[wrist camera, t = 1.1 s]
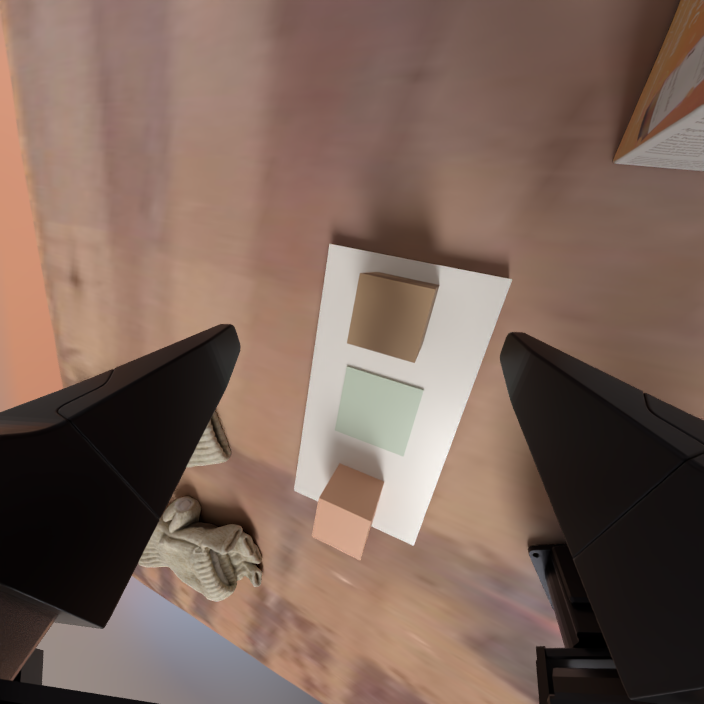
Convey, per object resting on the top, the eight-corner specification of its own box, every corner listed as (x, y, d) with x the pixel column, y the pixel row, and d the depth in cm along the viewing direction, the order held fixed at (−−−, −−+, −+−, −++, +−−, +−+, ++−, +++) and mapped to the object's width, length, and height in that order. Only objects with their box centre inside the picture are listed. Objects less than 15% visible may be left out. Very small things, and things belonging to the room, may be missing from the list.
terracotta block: (384, 481, 26) (371, 521, 22) (374, 517, 27) (360, 560, 23) (339, 463, 27) (318, 497, 23) (332, 498, 29) (311, 536, 24)
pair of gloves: (86, 390, 41) (37, 406, 36) (217, 385, 32) (176, 406, 27) (152, 554, 48) (119, 585, 43) (277, 589, 39) (252, 634, 34)
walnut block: (439, 284, 20) (435, 289, 16) (422, 344, 21) (414, 363, 17) (378, 271, 21) (359, 273, 17) (366, 329, 22) (346, 343, 18)
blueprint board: (415, 534, 28) (413, 547, 27) (299, 482, 31) (293, 491, 30) (508, 278, 19) (512, 279, 18) (335, 244, 23) (328, 243, 21)
